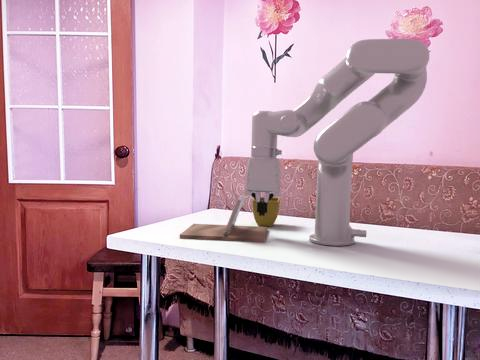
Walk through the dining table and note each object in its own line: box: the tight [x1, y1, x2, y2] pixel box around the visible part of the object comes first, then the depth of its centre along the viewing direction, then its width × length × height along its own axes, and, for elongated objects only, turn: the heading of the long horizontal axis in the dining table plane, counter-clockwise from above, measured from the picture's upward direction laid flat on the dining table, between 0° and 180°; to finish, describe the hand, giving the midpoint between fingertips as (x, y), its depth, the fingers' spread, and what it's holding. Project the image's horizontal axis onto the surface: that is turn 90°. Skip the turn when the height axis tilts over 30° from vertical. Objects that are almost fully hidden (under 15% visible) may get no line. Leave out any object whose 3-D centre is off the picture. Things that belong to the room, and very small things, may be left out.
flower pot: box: [251, 196, 281, 227], centre depth 148 cm, size 9×9×9 cm
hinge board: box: [179, 223, 268, 243], centre depth 132 cm, size 24×18×2 cm
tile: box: [225, 194, 246, 232], centre depth 131 cm, size 10×12×1 cm
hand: (262, 215), depth 130 cm, fingers closed
